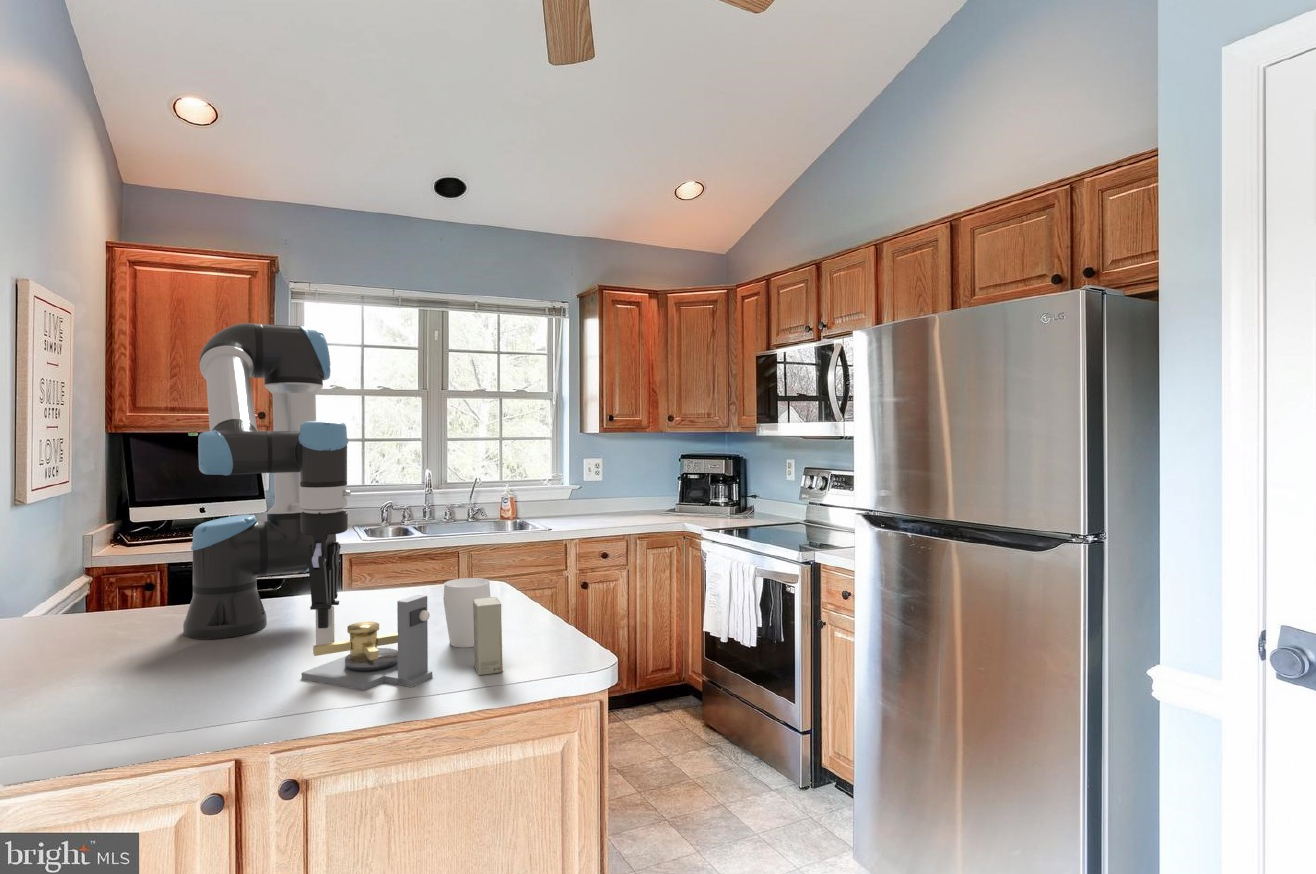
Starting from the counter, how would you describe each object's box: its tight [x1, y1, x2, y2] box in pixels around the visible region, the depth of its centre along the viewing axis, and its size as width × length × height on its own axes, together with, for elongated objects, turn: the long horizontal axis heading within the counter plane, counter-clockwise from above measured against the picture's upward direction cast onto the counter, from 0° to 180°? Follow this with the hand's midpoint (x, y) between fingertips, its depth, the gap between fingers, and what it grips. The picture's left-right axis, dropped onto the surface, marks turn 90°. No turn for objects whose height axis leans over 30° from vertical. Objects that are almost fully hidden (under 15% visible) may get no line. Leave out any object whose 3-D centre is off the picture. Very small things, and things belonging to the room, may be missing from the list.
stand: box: [301, 594, 433, 692], centre depth 131 cm, size 20×14×14 cm
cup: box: [442, 577, 491, 649], centre depth 149 cm, size 9×9×12 cm
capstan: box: [312, 621, 398, 671], centre depth 132 cm, size 17×16×7 cm
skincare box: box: [473, 596, 504, 676], centre depth 134 cm, size 6×4×12 cm
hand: (325, 644), depth 131 cm, fingers closed
